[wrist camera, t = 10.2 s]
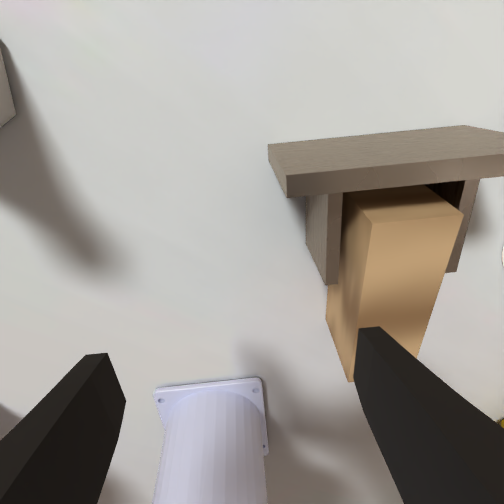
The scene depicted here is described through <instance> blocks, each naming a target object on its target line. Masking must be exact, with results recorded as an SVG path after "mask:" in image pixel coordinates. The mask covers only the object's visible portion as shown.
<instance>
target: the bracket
mask: <svg viewBox="0 0 504 504" xmlns="http://www.w3.org/2000/svg"><path fill="white" fill-rule="evenodd" d="M268 157H269V162H270V164H271V166H272V168H273V170H274V173H275V175H276V177H277V179H278V181H279V183H280V185H281V187H282V189H283V191H284V193H285V195H286V197H287V198H292V197H302V196H306V245H307V247H308V249H309V251H310V253H311V256H312V258H313V260H314V262H315V264H316V266H317V268H318V271H319V273H320V275H321V277H322V279H323V281H324V283H325V285H334V284H338V277H339V258H340V239H341V220H342V200H343V192H352V191H362V190H372V189H382V188H392V187H402V186H411V185H421V184H424V185H425V186H426V187H428V188H429V189H430V190H432V191H433V192H434V193H436V194H437V195H438V196H440V197H441V198H442V199H444V200H445V201H447V202H448V203H449V204H451V205H452V206H453V207H455V208H456V209H457V210H459V211H460V212H461V213H463V214H464V216H463V219H462V222H461V225H460V228H459V231H458V234H457V237H456V240H455V243H454V246H453V249H452V252H451V255H450V258H449V262H448V265H447V268H446V271H445V273H449V272H456V271H457V267H458V263H459V259H460V255H461V251H462V247H463V243H464V240H465V236H466V232H467V228H468V224H469V220H470V216H471V212H472V208H473V204H474V201H475V197H476V193H477V189H478V185H479V181H480V179H481V178H491V177H501V176H504V133H503V132H498V131H493V130H487V129H482V128H477V127H471V126H466V125H461V126H451V127H441V128H430V129H420V130H410V131H400V132H390V133H379V134H369V135H359V136H349V137H339V138H328V139H318V140H308V141H298V142H288V143H277V144H268Z"/></svg>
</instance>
